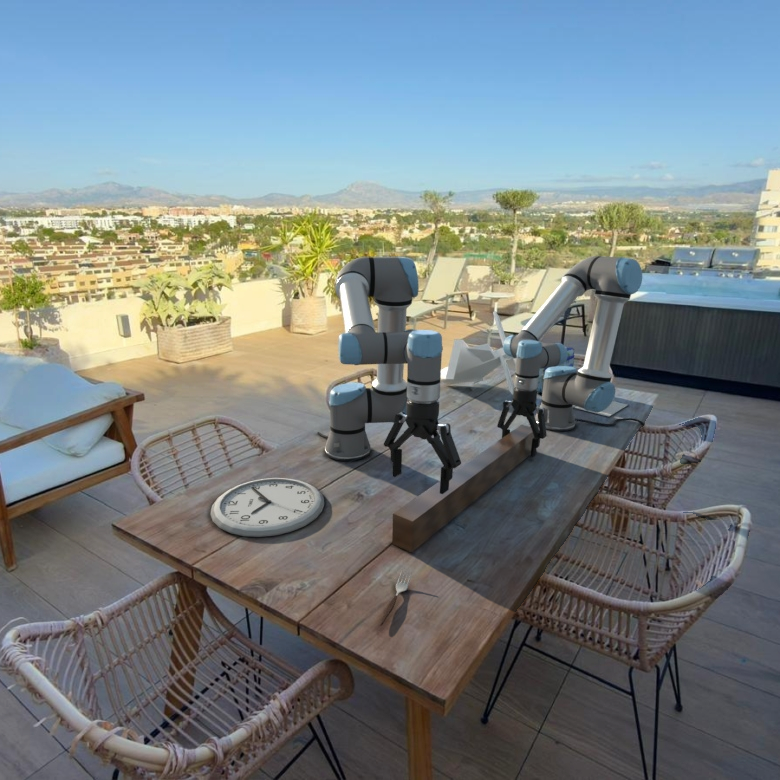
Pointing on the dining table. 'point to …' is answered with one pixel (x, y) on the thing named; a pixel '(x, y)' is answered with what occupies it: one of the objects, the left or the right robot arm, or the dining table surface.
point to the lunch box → (567, 363)
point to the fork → (400, 588)
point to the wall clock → (267, 507)
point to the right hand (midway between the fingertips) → (519, 452)
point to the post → (459, 490)
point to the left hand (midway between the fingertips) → (419, 483)
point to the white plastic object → (476, 361)
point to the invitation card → (608, 409)
